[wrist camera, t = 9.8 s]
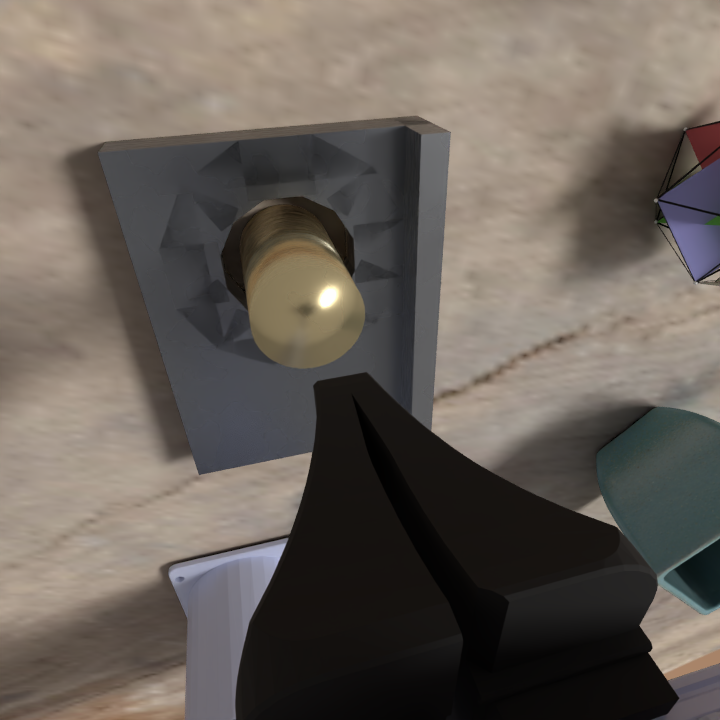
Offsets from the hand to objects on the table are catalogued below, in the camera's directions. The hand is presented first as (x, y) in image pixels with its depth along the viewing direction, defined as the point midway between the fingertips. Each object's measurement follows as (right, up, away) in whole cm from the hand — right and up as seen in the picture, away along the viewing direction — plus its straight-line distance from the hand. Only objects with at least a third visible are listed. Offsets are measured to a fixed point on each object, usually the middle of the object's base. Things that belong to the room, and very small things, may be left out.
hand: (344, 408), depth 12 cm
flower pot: (+19, -4, +22) cm, 29 cm away
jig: (-3, +3, +10) cm, 11 cm away
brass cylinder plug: (-3, +6, +8) cm, 10 cm away
